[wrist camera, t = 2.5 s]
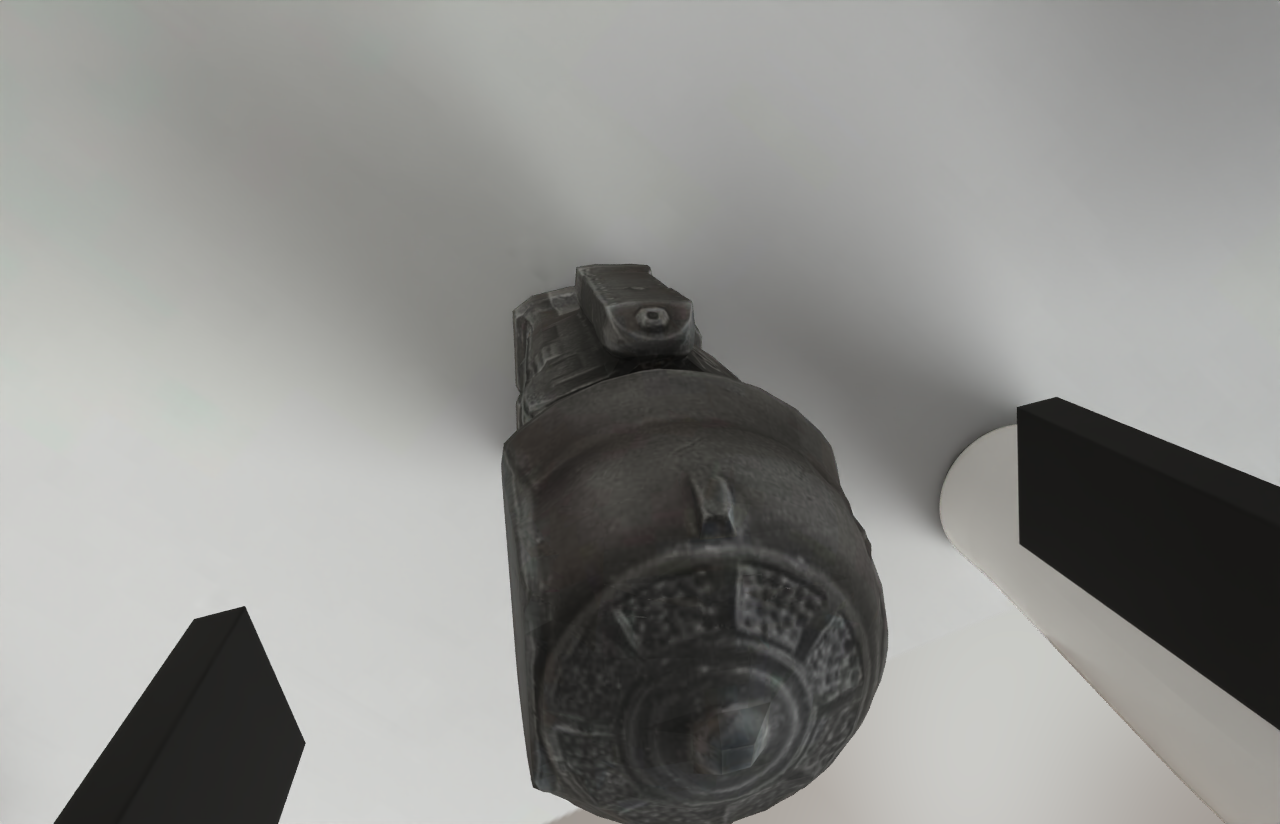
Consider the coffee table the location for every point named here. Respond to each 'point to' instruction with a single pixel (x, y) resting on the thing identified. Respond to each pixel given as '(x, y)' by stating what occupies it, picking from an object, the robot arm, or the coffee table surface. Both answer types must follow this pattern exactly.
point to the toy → (675, 567)
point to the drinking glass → (1113, 647)
